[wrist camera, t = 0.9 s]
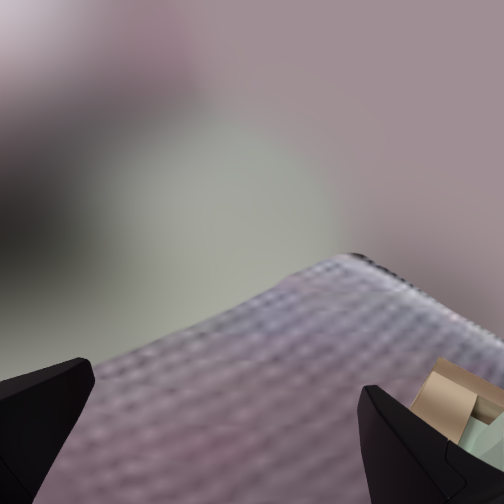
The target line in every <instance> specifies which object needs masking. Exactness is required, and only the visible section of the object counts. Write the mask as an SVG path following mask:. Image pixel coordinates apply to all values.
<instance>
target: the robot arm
mask: <svg viewBox="0 0 504 504" xmlns="http://www.w3.org/2000/svg"><path fill="white" fill-rule="evenodd" d="M94 384H95V377H94V374H93V370H92V367H91V363H90V361H89V360H87V359H84V358H80V357H78V358H75V359H72V360H69V361H65V362H62V363H59V364H56V365H53V366H50V367H47V368H43V369H40V370H37V371H34V372H31V373H28V374H24V375H21V376H17V377H14V378H10V379H7V380H3V381H1V382H0V504H32V503H33V501H34V498H35V496H36V494H37V492H38V491H39V489H40V487H41V485H42V483H43V481H44V479H45V477H46V475H47V473H48V472H49V470H50V468H51V466H52V464H53V462H54V461H55V459H56V457H57V455H58V453H59V452H60V450H61V448H62V446H63V444H64V443H65V441H66V439H67V437H68V436H69V434H70V432H71V430H72V429H73V427H74V425H75V424H76V422H77V420H78V418H79V417H80V415H81V413H82V410H83V408H84V406H85V404H86V402H87V399H88V397H89V395H90V393H91V391H92V389H93V387H94ZM357 414H358V424H359V434H360V446H361V454H362V459H363V463H364V468H365V473H366V478H367V483H368V488H369V493H370V498H371V503H372V504H504V472H503V471H501V470H499V469H497V468H495V467H494V466H492V465H490V464H488V463H486V462H484V461H482V460H481V459H479V458H477V457H475V456H474V455H472V454H470V453H469V452H467V451H466V450H464V449H463V448H461V447H460V446H458V445H457V444H455V443H454V442H453V441H451V440H448V438H447V437H446V436H444V435H443V434H441V433H440V432H439V431H437V430H436V429H435V428H433V427H432V426H431V425H429V424H428V423H426V422H425V421H424V420H422V419H421V418H420V417H418V416H417V415H416V414H414V413H413V412H412V411H410V410H409V409H408V408H406V407H405V406H404V405H402V404H401V403H400V402H398V401H397V400H396V399H394V398H393V397H392V396H390V395H389V394H388V393H386V392H385V391H384V390H382V389H381V388H380V387H379V386H377V385H366V386H364V387H363V388H362V391H361V395H360V399H359V403H358V407H357Z"/></svg>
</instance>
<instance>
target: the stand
mask: <svg viewBox="0 0 504 504" xmlns="http://www.w3.org/2000/svg"><path fill="white" fill-rule="evenodd" d="M409 410H410V411H412V412H413V413H414V414H416V415H417V416H418V417H420V418H421V419H422V420H424V421H425V422H426V423H428V424H429V425H431V426H432V427H433V428H435V429H436V430H437V431H439V432H440V433H441V434H443V435H444V436H446V437H447V438H448V440H451V441H453V442H454V443H455V444H457V445H458V442H459V440H460V438H461V436H462V434H463V431H464V429H465V427H466V424H467V422H468V419H469V417H470V416H471V417H473V418H475V419H477V420H479V421H481V422H483V423H485V424H487V425H490V424H491V423H492V422H493V421H494V420H495V419H496V418H497V417H498V416H499V415H500V414H501V413H502V412H503V411H504V390H503V389H501V388H499V387H497V386H495V385H493V384H491V383H489V382H487V381H485V380H484V379H482V378H480V377H478V376H476V375H474V374H472V373H470V372H468V371H466V370H465V369H463V368H461V367H459V366H457V365H455V364H453V363H451V362H449V361H447V360H446V359H444V358H442V357H439V358H438V360H437V362H436V363H435V365H434V367H433V368H432V370H431V372H430V373H429V375H428V376H427V378H426V380H425V382H424V384H423V386H422V387H421V389H420V391H419V393H418V395H417V396H416V398H415V400H414V401H413V403H412V405H411V406H410V408H409Z"/></svg>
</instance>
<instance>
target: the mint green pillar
mask: <svg viewBox="0 0 504 504" xmlns="http://www.w3.org/2000/svg"><path fill="white" fill-rule="evenodd" d="M458 446H460V447H461V448H463V449H464V450H466V451H467V452H469V453H470V454H472V455H474V456H475V457H477V458H479V459H481V460H482V461H484V462H486V463H488V464H490V465H492V466H494V467H495V468H497V469H499V470H501V471H503V472H504V411H503V412H502V413H501V414H500V415H499V416H498V417H497V418H496V419H495V420H494V421H493V422H492V423H491V424H490V425H487V424H485V423H483V422H481V421H479V420H477V419H475V418H473V417H471V416H470V417H469V419H468V422H467V424H466V427H465V429H464V431H463V434H462V436H461V438H460V440H459V442H458Z"/></svg>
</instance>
